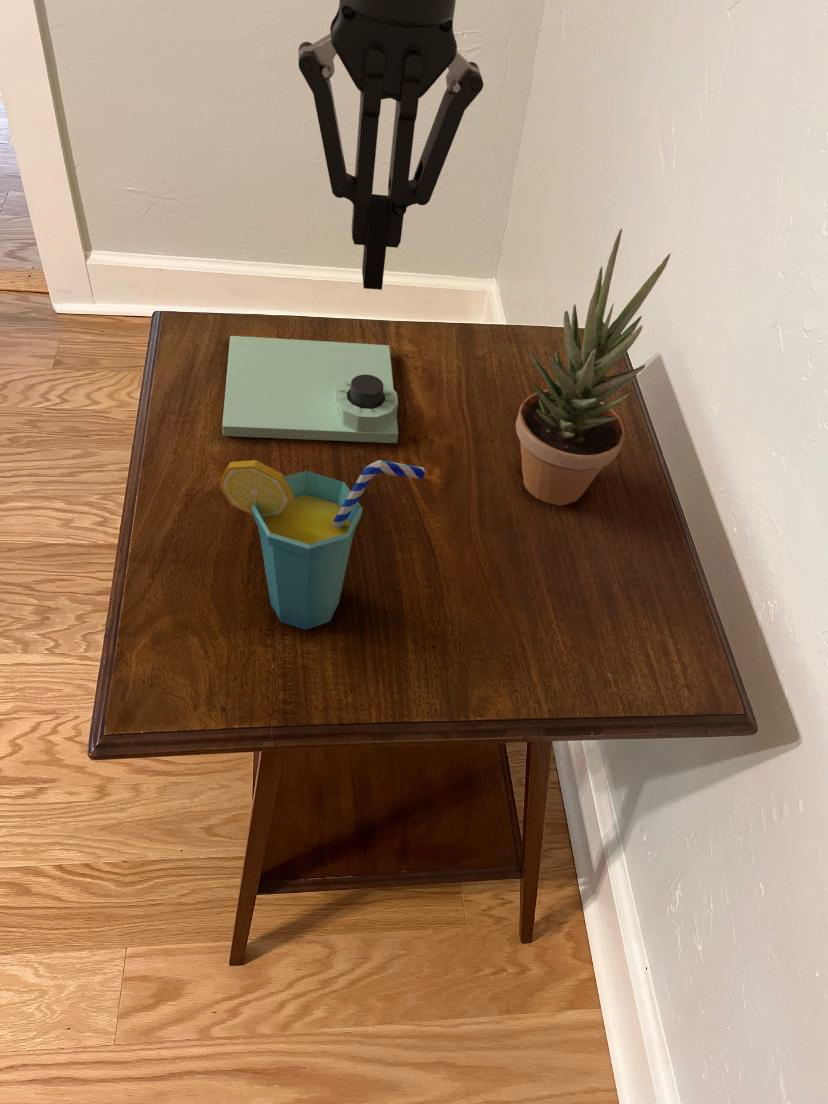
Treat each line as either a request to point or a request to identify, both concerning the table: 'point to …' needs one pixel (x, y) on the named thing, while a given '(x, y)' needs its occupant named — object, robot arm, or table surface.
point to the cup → (303, 532)
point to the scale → (306, 390)
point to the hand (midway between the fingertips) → (371, 279)
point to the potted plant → (580, 399)
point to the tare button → (366, 391)
